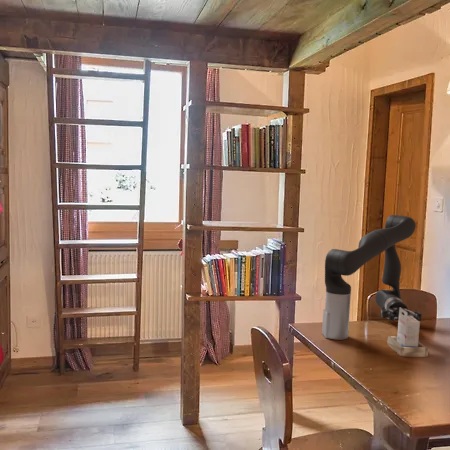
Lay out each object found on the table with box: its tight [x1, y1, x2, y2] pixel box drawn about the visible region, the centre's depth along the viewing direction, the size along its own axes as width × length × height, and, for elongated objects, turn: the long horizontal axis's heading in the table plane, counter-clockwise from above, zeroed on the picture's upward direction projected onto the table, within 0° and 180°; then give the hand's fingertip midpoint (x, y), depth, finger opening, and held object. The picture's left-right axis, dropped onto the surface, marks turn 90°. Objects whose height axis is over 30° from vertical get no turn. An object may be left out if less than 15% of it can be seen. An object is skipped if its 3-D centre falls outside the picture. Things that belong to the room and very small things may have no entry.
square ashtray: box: [386, 335, 429, 358], centre depth 180 cm, size 10×12×3 cm
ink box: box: [396, 307, 421, 347], centre depth 179 cm, size 8×5×15 cm, turn 0°
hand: (404, 319), depth 185 cm, fingers open, 8 cm apart
